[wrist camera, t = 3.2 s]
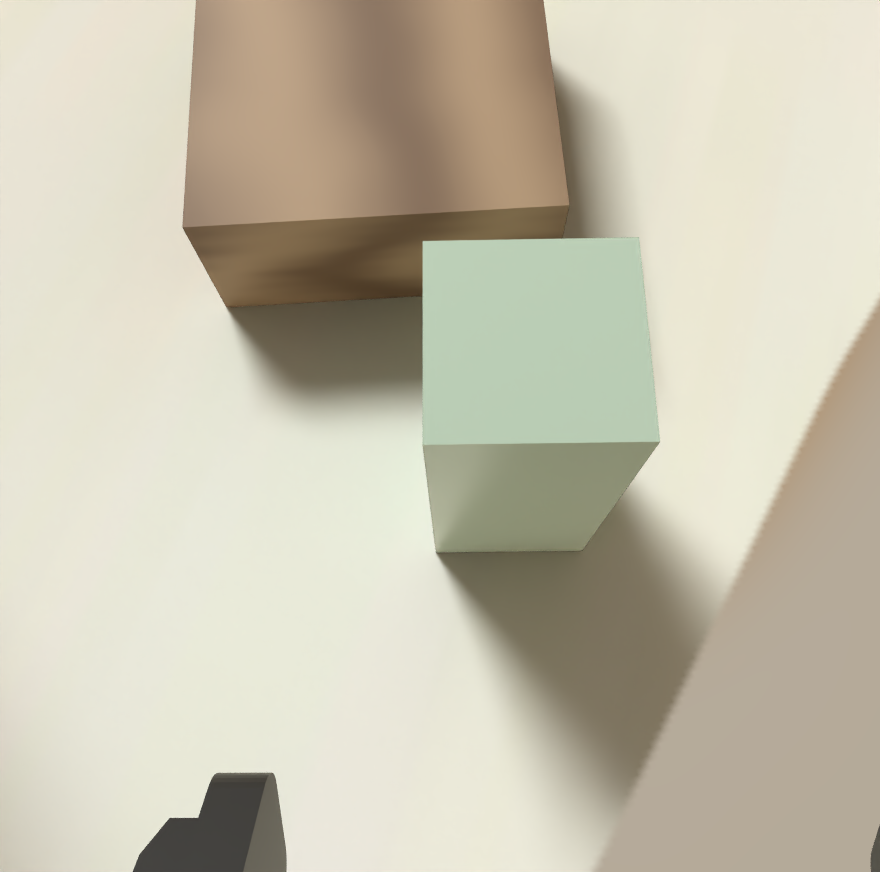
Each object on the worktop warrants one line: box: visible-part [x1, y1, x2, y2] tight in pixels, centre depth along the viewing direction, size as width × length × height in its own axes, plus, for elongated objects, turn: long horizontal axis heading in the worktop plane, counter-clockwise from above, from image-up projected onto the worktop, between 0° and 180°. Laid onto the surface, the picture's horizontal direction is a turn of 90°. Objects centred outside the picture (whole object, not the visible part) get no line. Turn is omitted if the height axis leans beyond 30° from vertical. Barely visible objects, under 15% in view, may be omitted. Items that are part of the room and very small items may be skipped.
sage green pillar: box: [423, 237, 660, 552], centre depth 21 cm, size 4×4×10 cm
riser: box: [183, 0, 569, 307], centre depth 27 cm, size 11×11×5 cm
